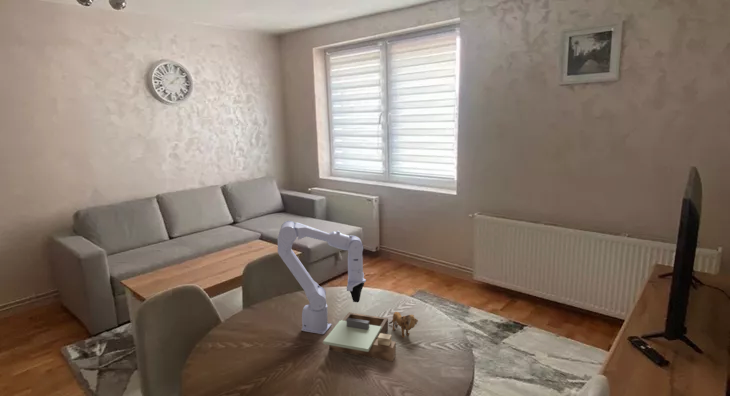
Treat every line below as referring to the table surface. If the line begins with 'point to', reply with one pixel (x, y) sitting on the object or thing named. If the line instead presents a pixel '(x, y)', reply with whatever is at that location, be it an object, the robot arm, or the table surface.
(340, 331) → the lid
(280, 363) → the table surface
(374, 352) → the wooden box
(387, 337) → the wooden key
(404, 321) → the lion figurine
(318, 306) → the robot arm
